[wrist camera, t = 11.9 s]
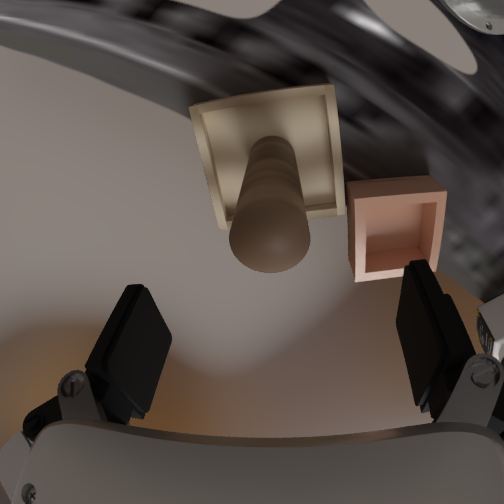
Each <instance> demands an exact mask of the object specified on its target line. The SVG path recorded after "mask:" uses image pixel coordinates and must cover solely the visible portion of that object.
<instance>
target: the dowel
mask: <svg viewBox="0 0 504 504" xmlns="http://www.w3.org/2000/svg"><path fill="white" fill-rule="evenodd" d="M229 242H230V247H231V249H232V252H233V254H234V255H235V256H236V258H238V260H239V261H240V262H241V263H242V264H244V265H245V266H247V267H249V268H250V269H253V270H255V271H259V272H264V273H277V272H282V271H285V270H288V269H290V268H292V267H294V266H295V265H297V264H298V263H299V262H300V261H301V260H302V259H303V258H304V256H305V255H306V253H307V251H308V249H309V245H310V232H309V226H308V220H307V215H306V209H305V204H304V198H303V193H302V187H301V182H300V177H299V172H298V167H297V162H296V157H295V152H294V149H293V147H292V146H291V144H290V143H289V142H288V141H287V140H285V139H284V138H281V137H278V136H266V137H263V138H261V139H259V140H258V141H257V142H256V143H255V144H254V145H253V147H252V149H251V152H250V156H249V159H248V163H247V167H246V171H245V175H244V178H243V182H242V186H241V190H240V194H239V198H238V201H237V205H236V209H235V213H234V217H233V221H232V225H231V229H230V235H229Z"/></svg>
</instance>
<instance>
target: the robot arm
mask: <svg viewBox="0 0 504 504" xmlns="http://www.w3.org/2000/svg"><path fill="white" fill-rule="evenodd" d="M439 1H440V2H441V3H442V5H443V6H444V7H445V8H446V9H447V10H448V11H449V12H450V13H451V14H452V15H453V16H455V17H456V18H457V19H458V20H459V21H461V22H462V23H464V24H465V25H467V26H468V27H470V28H472V29H474V30H476V31H478V32H482V33H485V34H494V35H499V34H504V0H439ZM396 327H397V331H398V335H399V339H400V342H401V346H402V350H403V354H404V358H405V362H406V366H407V370H408V375H409V379H410V383H411V387H412V393H413V397H414V402H415V405H416V406H420V409H421V413H424V412H429V411H430V414H431V417H432V418H433V421H432V423H428V424H421V425H414V426H406V427H400V428H394V429H387V430H380V431H372V432H363V433H353V434H343V435H333V436H332V435H331V436H316V437H293V438H248V437H247V438H246V437H224V436H208V435H197V434H187V433H178V432H169V431H161V430H155V429H148V428H142V427H135V426H131V424H130V422H129V420H130V417H132V418H138V419H144V416H145V413H147V412H148V411H149V410H150V407H151V403H152V400H153V397H154V394H155V390H156V387H157V384H158V381H159V378H160V375H161V372H162V369H163V366H164V363H165V360H166V357H167V354H168V351H169V348H170V345H171V342H172V336H171V333H170V331H169V329H168V327H167V325H166V323H165V322H164V319H163V317H162V316H161V314H160V312H159V310H158V308H157V306H156V304H155V302H154V300H153V298H152V296H151V294H150V292H149V290H148V288H146V287H144V285H142V284H132V285H128V286H127V287H126V288H125V290H124V292H123V293H122V296H121V297H120V299H119V301H118V302H117V304H116V306H115V308H114V310H113V312H112V314H111V315H110V317H109V319H108V321H107V323H106V325H105V327H104V329H103V331H102V332H101V334H100V336H99V338H98V340H97V342H96V344H95V346H94V348H93V350H92V352H91V354H90V356H89V358H88V361H87V362H86V364H85V368H86V372H85V373H84V372H83V371H80V370H73V371H71V372H69V373H68V374H66V375H65V376H64V377H63V378H62V379H61V381H60V383H59V384H58V388H57V393H58V395H57V396H55V397H53V398H52V399H51V400H49V401H47V402H45V403H44V404H42V405H40V406H39V407H37V408H35V409H34V410H32V411H31V412H30V413H28V415H27V416H26V417H25V419H24V422H23V431H21V430H19V431H18V432H17V433H16V434H15V435H14V436H13V437H12V438H11V439H10V440H9V441H8V442H7V443H6V444H5V445H4V447H3V448H2V449H1V450H0V482H1V483H2V485H3V487H4V489H5V491H6V493H7V495H8V497H9V499H10V501H11V502H12V503H11V504H504V369H503V367H502V365H501V363H500V362H499V361H498V360H497V358H495V357H493V356H492V355H489V354H477V355H476V352H475V350H474V347H473V345H472V343H471V340H470V338H469V335H468V333H467V331H466V328H465V326H464V324H463V321H462V319H461V317H460V315H459V313H458V310H457V309H456V306H455V304H454V302H453V300H452V298H451V296H450V295H449V294H443V292H442V290H441V287H440V285H439V284H438V281H437V279H436V277H435V275H434V273H433V271H432V269H431V267H430V265H429V263H428V262H427V260H426V259H420V260H411V261H410V262H409V265H406V266H405V267H404V273H403V280H402V287H401V294H400V300H399V306H398V311H397V317H396Z"/></svg>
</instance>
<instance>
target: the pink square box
mask: <svg viewBox="0 0 504 504" xmlns="http://www.w3.org/2000/svg"><path fill="white" fill-rule="evenodd" d="M346 196H347V217H348V252H349V253H348V256H349V262H350V265H351V269H352V273H353V276H354V280H355V282H361V281H369V280H377V279H385V278H392V277H399V276H403V273H404V267H405V266H406V265H409V262H410V261H411V260H420V259H426V260H427V262H428V263H429V265H430V267H431V269H432V271H433V272H434V271H436V268H437V263H438V257H439V251H440V245H441V238H442V231H443V224H444V216H445V207H446V197H447V191H446V190H445V189H444V188H443V187H442V186H441V185H440V184H439V183H438V182H437V181H436V180H435V179H433V178H432V177H431V176H430V175H424V176H408V177H394V178H381V179H369V180H358V181H348V182H346Z"/></svg>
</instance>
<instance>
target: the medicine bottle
mask: <svg viewBox="0 0 504 504" xmlns="http://www.w3.org/2000/svg"><path fill="white" fill-rule="evenodd" d="M476 335H477V337H478V339H479V341H480V343H481V346H482V348H483V350H484V352H485V354H489V355H492V356H493V357H495V358H497V360H498V361H499V362H500V363H501V365H502V367H503V369H504V294H502V295H500V296H498V297H496V298H494V299H492V300H490V301H489V302H487V303H485V304H483V305H481V306H479V307H477V328H476Z"/></svg>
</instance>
